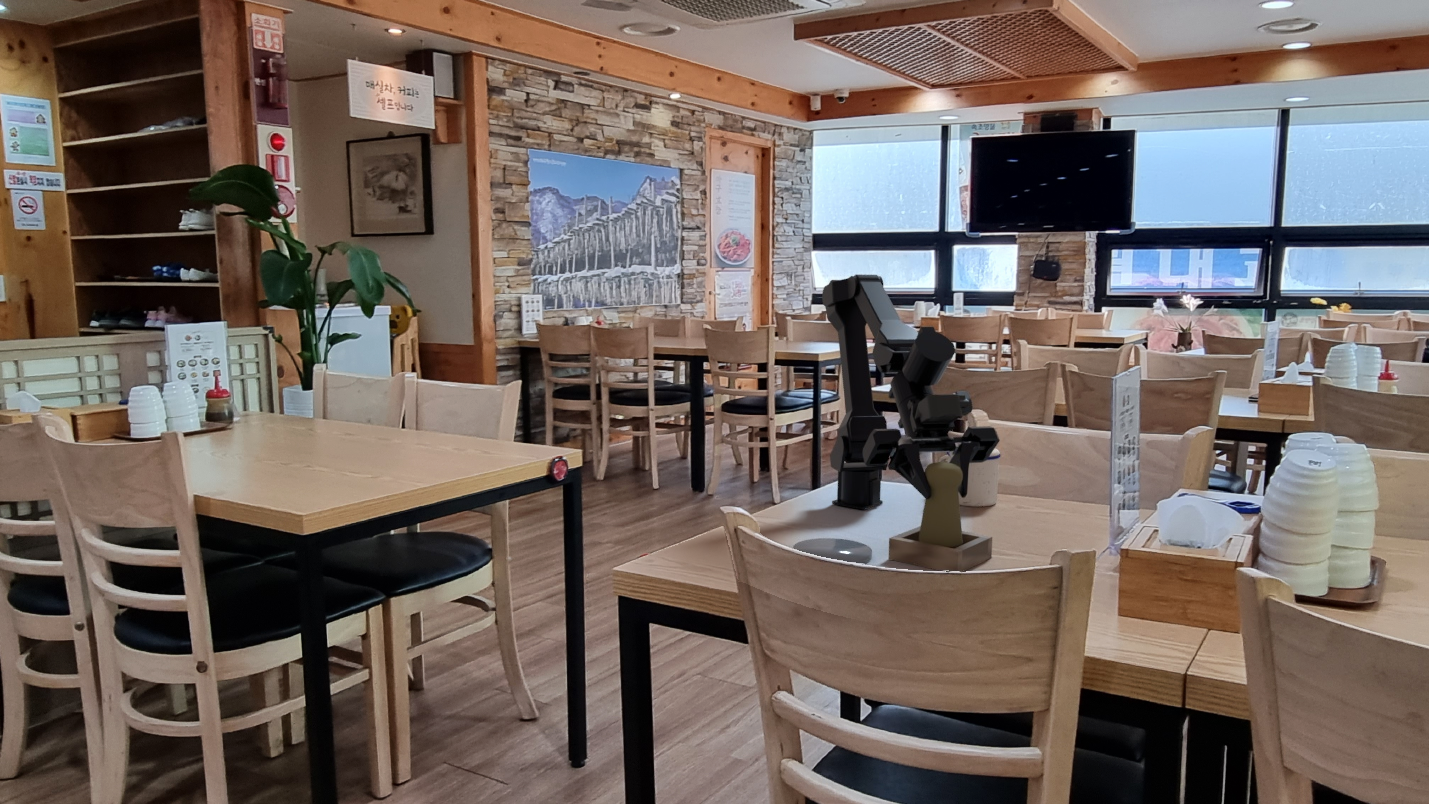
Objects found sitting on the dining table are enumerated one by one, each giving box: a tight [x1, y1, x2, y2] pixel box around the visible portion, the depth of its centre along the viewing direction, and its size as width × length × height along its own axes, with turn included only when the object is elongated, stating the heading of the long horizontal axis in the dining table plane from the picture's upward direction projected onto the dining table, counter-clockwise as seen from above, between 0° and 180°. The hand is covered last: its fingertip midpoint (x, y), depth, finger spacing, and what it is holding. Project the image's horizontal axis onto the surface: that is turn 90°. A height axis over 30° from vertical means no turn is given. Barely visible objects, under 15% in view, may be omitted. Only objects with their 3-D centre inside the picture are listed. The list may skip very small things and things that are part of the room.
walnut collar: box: [888, 525, 993, 572], centre depth 140 cm, size 10×10×3 cm
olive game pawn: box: [918, 461, 963, 547], centre depth 139 cm, size 6×6×11 cm
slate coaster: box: [792, 537, 873, 564], centre depth 141 cm, size 11×11×1 cm
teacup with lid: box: [938, 448, 1002, 508], centre depth 176 cm, size 12×9×12 cm
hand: (946, 496), depth 138 cm, fingers closed on olive game pawn, 5 cm apart
